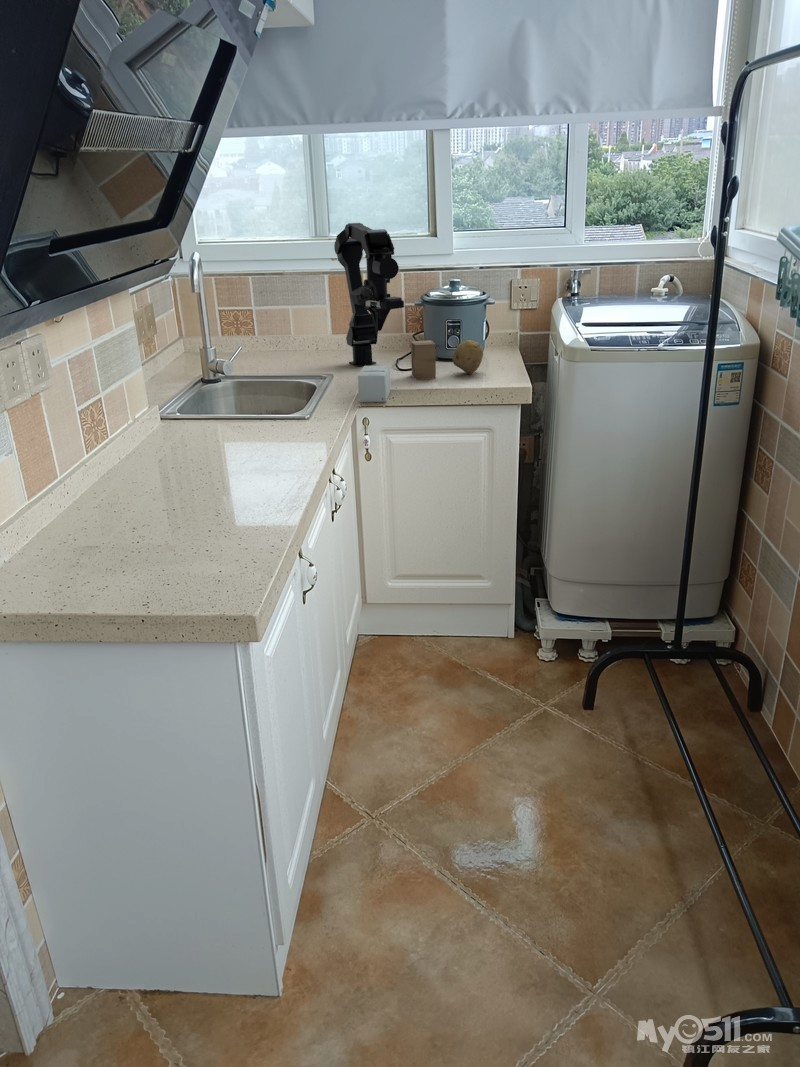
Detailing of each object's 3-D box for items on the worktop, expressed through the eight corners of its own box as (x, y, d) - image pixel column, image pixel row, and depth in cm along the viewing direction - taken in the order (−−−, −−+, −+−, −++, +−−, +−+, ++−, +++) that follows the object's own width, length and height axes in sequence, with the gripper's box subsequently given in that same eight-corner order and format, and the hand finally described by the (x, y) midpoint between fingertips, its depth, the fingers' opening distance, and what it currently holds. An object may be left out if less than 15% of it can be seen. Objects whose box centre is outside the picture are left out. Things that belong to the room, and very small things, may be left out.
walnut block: (411, 375, 250) (411, 341, 246) (431, 373, 251) (430, 340, 247) (415, 379, 245) (415, 345, 241) (435, 378, 246) (435, 344, 242)
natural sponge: (451, 377, 246) (451, 343, 242) (453, 370, 254) (453, 337, 250) (482, 377, 245) (483, 343, 241) (483, 370, 253) (483, 337, 249)
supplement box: (390, 364, 229) (385, 375, 218) (390, 391, 232) (386, 403, 221) (363, 364, 230) (357, 375, 219) (364, 391, 233) (358, 403, 222)
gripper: (336, 275, 243) (339, 330, 249) (371, 281, 229) (373, 338, 235) (367, 272, 249) (370, 325, 255) (404, 277, 235) (405, 333, 241)
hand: (378, 330), depth 247 cm, fingers closed
